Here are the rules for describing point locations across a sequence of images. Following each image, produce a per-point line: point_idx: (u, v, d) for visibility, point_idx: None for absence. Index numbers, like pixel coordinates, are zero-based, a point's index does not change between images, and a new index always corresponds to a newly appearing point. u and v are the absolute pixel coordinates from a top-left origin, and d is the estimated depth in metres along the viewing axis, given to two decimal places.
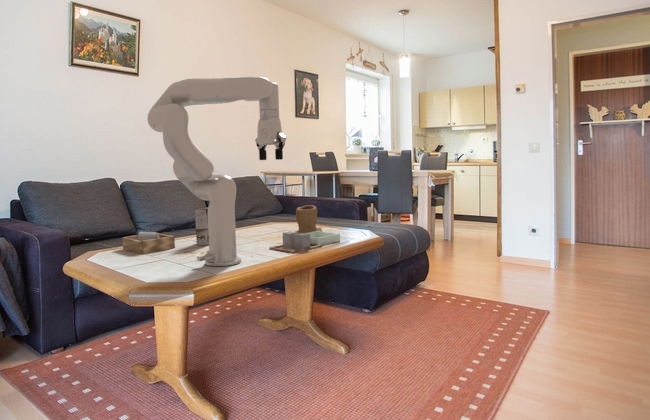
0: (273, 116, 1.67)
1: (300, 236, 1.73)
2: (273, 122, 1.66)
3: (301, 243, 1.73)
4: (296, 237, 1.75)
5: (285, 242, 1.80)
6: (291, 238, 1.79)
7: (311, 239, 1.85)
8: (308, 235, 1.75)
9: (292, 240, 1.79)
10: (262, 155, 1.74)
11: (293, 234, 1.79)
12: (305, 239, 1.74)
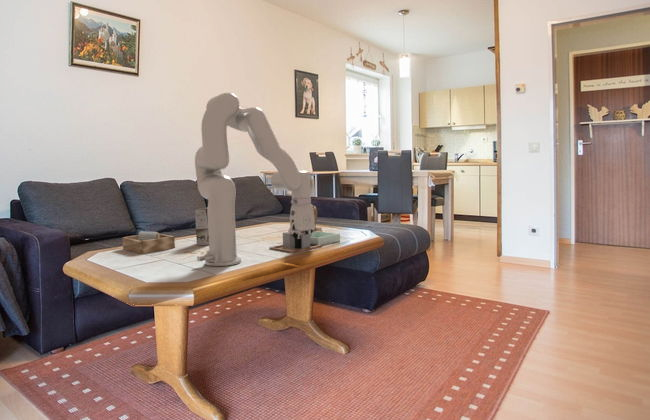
0: None
1: (300, 236, 1.73)
2: None
3: (301, 243, 1.73)
4: None
5: (285, 242, 1.80)
6: (291, 238, 1.79)
7: (311, 239, 1.85)
8: (308, 235, 1.75)
9: (292, 240, 1.79)
10: None
11: None
12: (305, 239, 1.74)
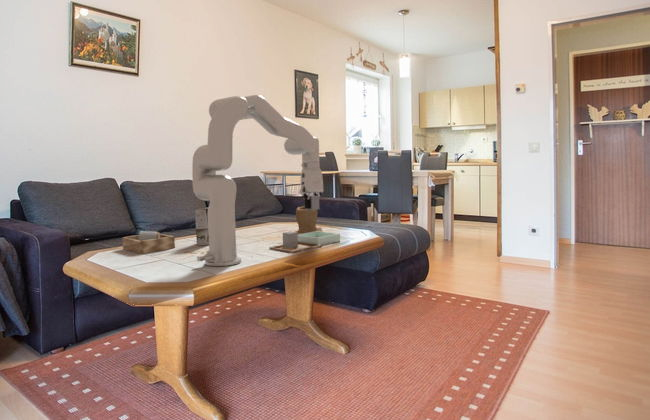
0: None
1: (310, 197, 1.89)
2: None
3: (311, 203, 1.89)
4: None
5: (285, 242, 1.80)
6: (291, 238, 1.79)
7: (311, 239, 1.85)
8: (317, 196, 1.91)
9: (292, 240, 1.79)
10: None
11: (293, 234, 1.79)
12: (315, 200, 1.90)
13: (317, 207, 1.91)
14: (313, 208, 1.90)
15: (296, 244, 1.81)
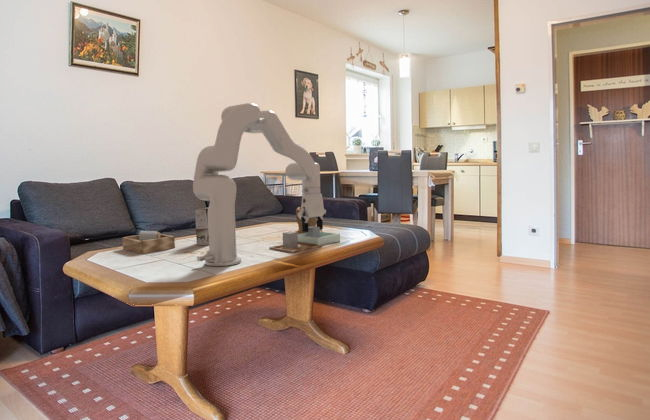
0: None
1: (311, 229, 1.91)
2: None
3: (312, 235, 1.91)
4: None
5: (285, 242, 1.80)
6: (291, 238, 1.79)
7: (311, 239, 1.85)
8: (318, 228, 1.93)
9: (292, 240, 1.79)
10: None
11: (293, 234, 1.79)
12: (316, 232, 1.92)
13: None
14: None
15: (296, 244, 1.81)
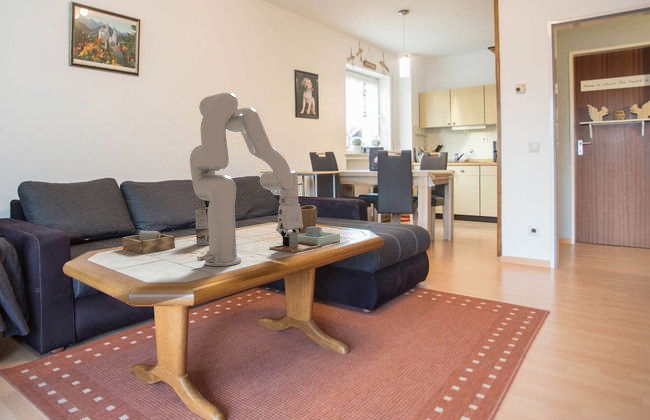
0: None
1: (311, 229, 1.91)
2: None
3: (312, 235, 1.91)
4: (307, 230, 1.93)
5: None
6: (291, 238, 1.79)
7: (311, 239, 1.85)
8: (318, 228, 1.93)
9: (292, 240, 1.79)
10: None
11: (293, 234, 1.79)
12: (316, 232, 1.92)
13: None
14: None
15: (296, 244, 1.81)
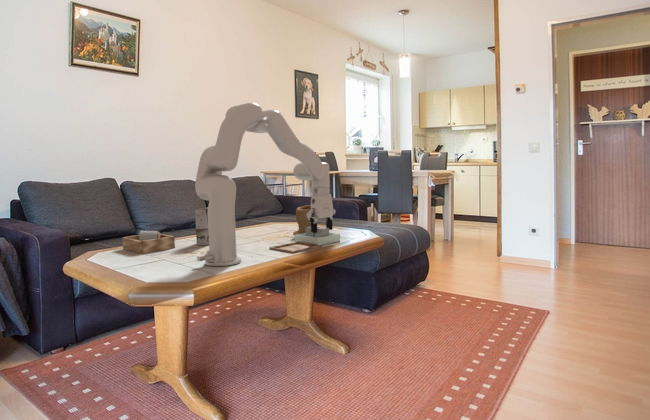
0: None
1: None
2: None
3: (312, 235, 1.91)
4: (307, 230, 1.93)
5: (317, 237, 1.89)
6: (323, 233, 1.87)
7: (311, 239, 1.85)
8: None
9: (324, 235, 1.88)
10: None
11: (325, 229, 1.88)
12: None
13: None
14: None
15: None
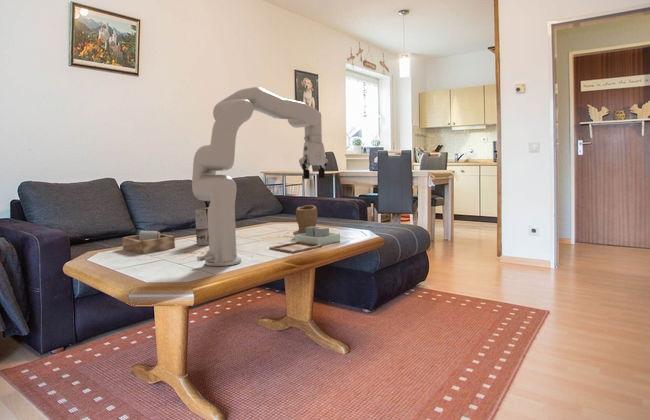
0: None
1: (311, 229, 1.91)
2: None
3: (312, 235, 1.91)
4: (307, 230, 1.93)
5: (317, 237, 1.89)
6: (323, 233, 1.87)
7: (311, 239, 1.85)
8: None
9: (324, 235, 1.88)
10: None
11: (325, 229, 1.88)
12: None
13: None
14: None
15: None
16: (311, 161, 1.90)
